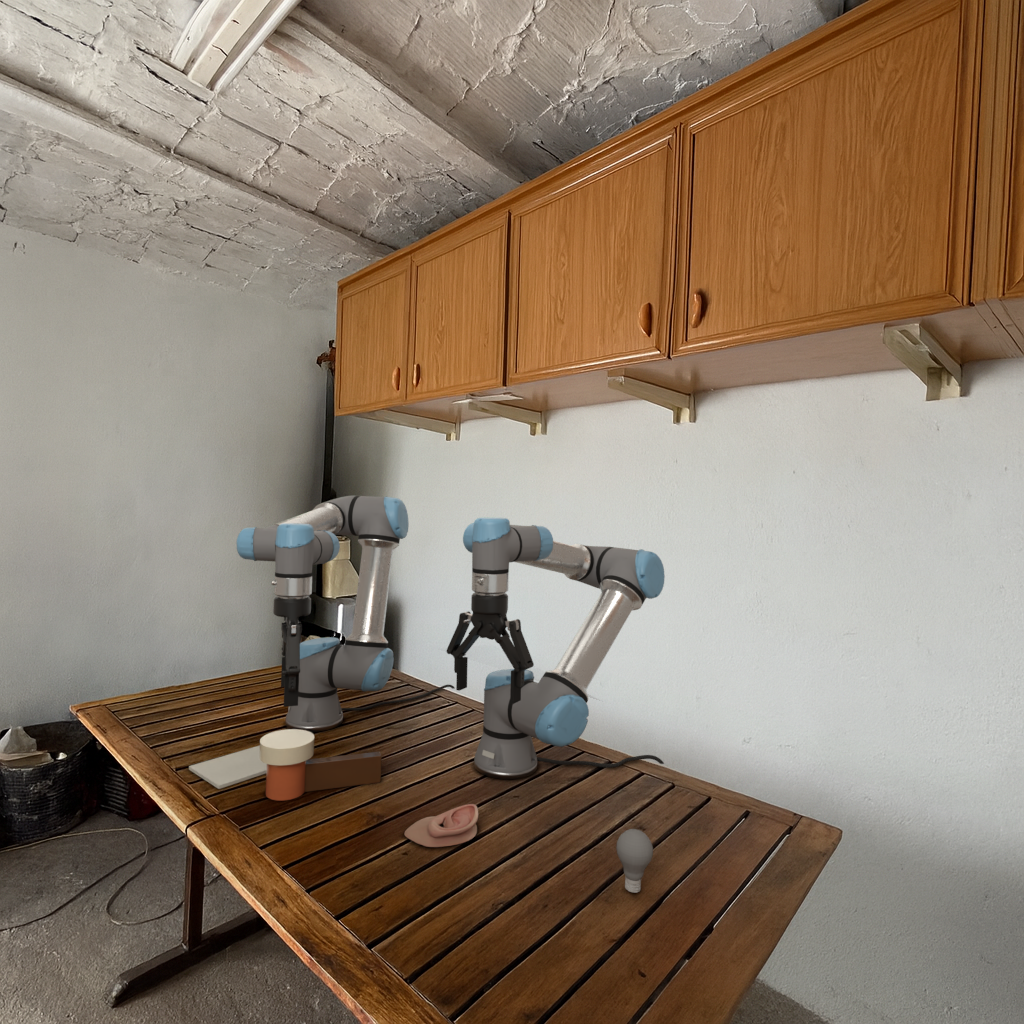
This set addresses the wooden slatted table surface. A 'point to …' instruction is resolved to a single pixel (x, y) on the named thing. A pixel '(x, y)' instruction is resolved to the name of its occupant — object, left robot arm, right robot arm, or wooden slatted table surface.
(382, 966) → the wooden slatted table surface
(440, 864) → the wooden slatted table surface
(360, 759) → the orange handled cylinder
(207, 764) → the grey mat
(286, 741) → the cap
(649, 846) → the light bulb
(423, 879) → the wooden slatted table surface
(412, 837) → the anatomical model
